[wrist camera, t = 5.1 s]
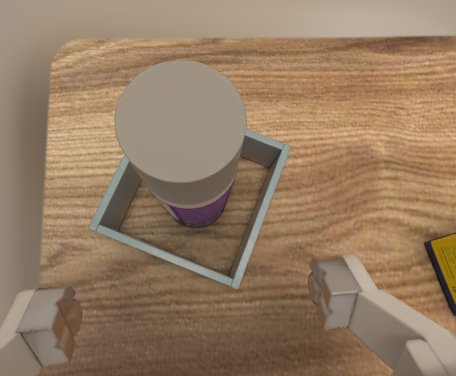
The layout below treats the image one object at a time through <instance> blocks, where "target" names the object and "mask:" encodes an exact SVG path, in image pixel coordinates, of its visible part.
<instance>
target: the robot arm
mask: <svg viewBox="0 0 456 376" xmlns="http://www.w3.org/2000/svg"><path fill="white" fill-rule="evenodd" d="M310 268H311V270H312V272H311V273H310V274H309V277H308V288H309V293H310V296H311V299H312V302H313V303H315V304H316V305H317V306H318V310H317V314H318V317H319V319H320V322H321V324H322V327H323V329H324V330H331V329H341V328H348V329H349V330H350V331H351V332H352V333H353V334H354V335H355V336H357V337H358V338H359V339H360V340H361V341H362V342H363V343H364V344H365V345H366V346H367V347H369V348H370V349H371V350H372V351H373V352H374V353H375V354H376V355H377V356H378V357H380V358H381V359H382V360H383V361H384V362H385V363H386V364H387V365H388V366H389V367H391V368H392V369H393V370H394V371H393V373H392V375H391V376H456V336H455V335H454V334H453V333H452V332H450V331H449V330H447V329H445V328H444V327H442V326H441V325H439V324H437V323H436V322H434V321H433V320H431V319H429V318H428V317H426V316H425V315H423V314H421V313H420V312H418V311H416V310H415V309H413V308H412V307H410V306H408V305H407V304H405V303H404V302H402V301H400V300H399V299H397V298H396V297H394V296H392V295H391V294H389V293H388V292H386V291H384V290H383V289H381V290H378V288H377V287H376V285H375V283H374V282H373V280H372V279H371V277H370V276H369V274H368V272H367V271H366V269H365V268H364V266H363V264H362V263H361V261H360V260H359V258H358V257H357V255H355V254H347V255H340V256H339V255H337V256H329V257H321V258H313V259H312V260H311V263H310ZM74 295H75V291H74V289H73V287H72V286H60V287H48V288H38V289H27V290H22V291H21V292H19V293H18V295H17V296H16V298H15V300H14V302H13V305H12V306H11V308H10V310H9V312H8V314H7V316H6V318H5V320H4V321H3V324H2V325H1V327H0V376H37V374H38V373H39V372H40V371H41V370H42V367H45V366H52V365H58V364H65V363H70V361H71V357H72V354H73V350H74V347H75V344H76V342H75V340H74V338H73V336H74V335H75V334H76V333H77V332H78V331H79V330H80V326H81V322H82V309H81V305H80V303H79V301H77V300H76V299H74Z"/></svg>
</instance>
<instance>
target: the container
mask: <svg viewBox="0 0 456 376" xmlns="http://www.w3.org/2000/svg"><path fill="white" fill-rule="evenodd" d="M246 125H247V118H246V110H245V106H244V103H243V100H242V98H241V96H240V94H239V92H238V90H237V89H236V87H235V86H234V85H233V84H232V82H231V81H230V80H229V79H228V78H227V77H225V76H224V75H223V74H222V73H220V72H219V71H217V70H216V69H214V68H212V67H210V66H207V65H205V64H202V63H199V62H194V61H187V60H174V61H167V62H163V63H160V64H157V65H154V66H152V67H150V68H148V69H146V70H144V71H143V72H141V73H140V74H139V75H137V76H136V77H135V78H134V79H133V80H132V81H131V82H130V83H129V84H128V85H127V87H126V88H125V90H124V91H123V93H122V95H121V96H120V99H119V101H118V104H117V107H116V112H115V132H116V136H117V140H118V142H119V145H120V147H121V149H122V151H123V152H124V154H125V155H126V157H127V158H128V160H129V161H130V163H131V164H132V166H133V167H134V168H135V170H136V171H137V173H138V174H139V176H140V177H141V178H142V180H143V181H144V183H145V184H146V186H147V187H148V189H149V190H150V191H151V192H152V194H153V195H154V196H155V197H156V198H157V199H158V201H159V202H160V203H161V204H162V205H163V206H164V208H165V209H166V210H167V211H168V212H169V213H170V214H171V216H172V217H173V218H174V219H175V220H176V221H178V222H179V223H180V224H182V225H184V226H187V227H192V228H200V227H205V226H208V225H210V224H212V223H213V222H215V221H216V220H217V219H218V218H219V217H220V215H221V214H222V212H223V210H224V208H225V206H226V203H227V200H228V197H229V194H230V191H231V188H232V185H233V182H234V179H235V176H236V173H237V168H238V163H239V159H240V155H241V150H242V146H243V141H244V137H245V133H246Z"/></svg>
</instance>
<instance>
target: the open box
mask: <svg viewBox="0 0 456 376" xmlns="http://www.w3.org/2000/svg"><path fill="white" fill-rule="evenodd" d="M290 148H291V146H289V145H286V144H283V143H281V142H278V141H276V140H273V139H271V138H268V137H266V136H263V135H261V134H258V133H256V132H253V131H250V130H248V129H246V133H245V137H244V141H243V146H242V150H241V155H240V156H242V157H244V158H247V159H249V160H252V161H254V162H257V163H259V164H262V165H264V166H267V167H270V169H269V171H268V174H267V177H266V179H265V182H264V185H263V187H262V190H261V192H260V195H259V198H258V200H257V203H256V206H255V208H254V211H253V213H252V216H251V219H250V221H249V224H248V227H247V229H246V232H245V234H244V237H243V240H242V242H241V245H240V248H239V250H238V253H237V255H236V258H235V261H234V263H233V266H232V269H231V271H230V274H229V275H227V274H224V273H222V272H219V271H217V270H214V269H212V268H210V267H207V266H205V265H202V264H200V263H197V262H195V261H192V260H190V259H187V258H185V257H182V256H180V255H178V254H175V253H173V252H170V251H168V250H165V249H163V248H160V247H158V246H155V245H153V244H150V243H148V242H146V241H143V240H141V239H138V238H136V237H133V236H131V235H128V234H126V233H123V232H121V231H119V230H118V229H119V227H120V224H121V222H122V220H123V218H124V216H125V214H126V212H127V210H128V207H129V205H130V203H131V201H132V199H133V197H134V195H135V193H136V191H137V188H138V186H139V184H140V182H141V180H142V178H141V177H140V176H139V174H138V173H137V171H136V170H135V168H134V167H133V166H132V164H131V163H130V161H129V160H128V158H127V157H126V155H124V157H123V159H122V161H121V163H120V165H119V167H118V169H117V171H116V173H115V175H114V177H113V179H112V181H111V183H110V185H109V187H108V189H107V191H106V193H105V195H104V197H103V199H102V201H101V203H100V205H99V207H98V209H97V211H96V214H95V216H94V218H93V220H92V222H91V224H90V226H89V228H88V229H90V230H92V231H95V232H97V233H100V234H102V235H105V236H107V237H109V238H112V239H114V240H117V241H119V242H122V243H124V244H127V245H129V246H132V247H134V248H136V249H139V250H141V251H144V252H146V253H149V254H151V255H154V256H156V257H159V258H161V259H163V260H166V261H168V262H171V263H173V264H176V265H178V266H181V267H183V268H186V269H188V270H190V271H193V272H195V273H198V274H200V275H203V276H205V277H208V278H210V279H213V280H215V281H217V282H220V283H222V284H225V285H227V286H231V287H232V288H235V289H237V290H238V288H239V286H240V283H241V280H242V278H243V275H244V272H245V269H246V267H247V264H248V261H249V259H250V256H251V253H252V251H253V248H254V245H255V243H256V240H257V237H258V234H259V232H260V229H261V226H262V224H263V221H264V218H265V216H266V213H267V210H268V208H269V205H270V202H271V199H272V197H273V194H274V191H275V189H276V186H277V183H278V181H279V178H280V175H281V173H282V170H283V167H284V164H285V162H286V159H287V156H288V154H289V151H290Z"/></svg>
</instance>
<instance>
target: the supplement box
mask: <svg viewBox="0 0 456 376" xmlns="http://www.w3.org/2000/svg"><path fill="white" fill-rule="evenodd" d="M425 244H426V247H427V249H428V252H429V254H430V257H431V259H432V262H433V264H434V266H435V269H436V271H437V274H438V276H439V279H440V281H441V284H442V286H443V289H444V291H445V293H446V296H447V298H448V300H449V303H450V306H451V308H452V310H453V312H454V315H455V316H456V233H454V234H451V235H448V236H444V237H441V238H438V239H435V240H432V241H428V242H426V243H425Z"/></svg>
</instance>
